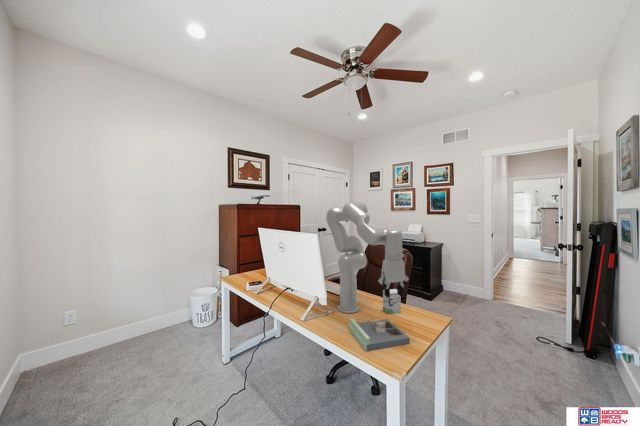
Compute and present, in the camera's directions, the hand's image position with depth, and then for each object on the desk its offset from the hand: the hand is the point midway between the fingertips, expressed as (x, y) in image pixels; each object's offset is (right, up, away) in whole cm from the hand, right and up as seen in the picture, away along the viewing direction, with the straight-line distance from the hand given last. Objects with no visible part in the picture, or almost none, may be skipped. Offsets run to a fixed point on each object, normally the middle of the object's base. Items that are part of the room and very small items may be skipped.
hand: (393, 295), depth 108 cm
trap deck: (-8, -18, -2) cm, 19 cm away
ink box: (+6, -17, +24) cm, 30 cm away
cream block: (-7, -15, -2) cm, 17 cm away
